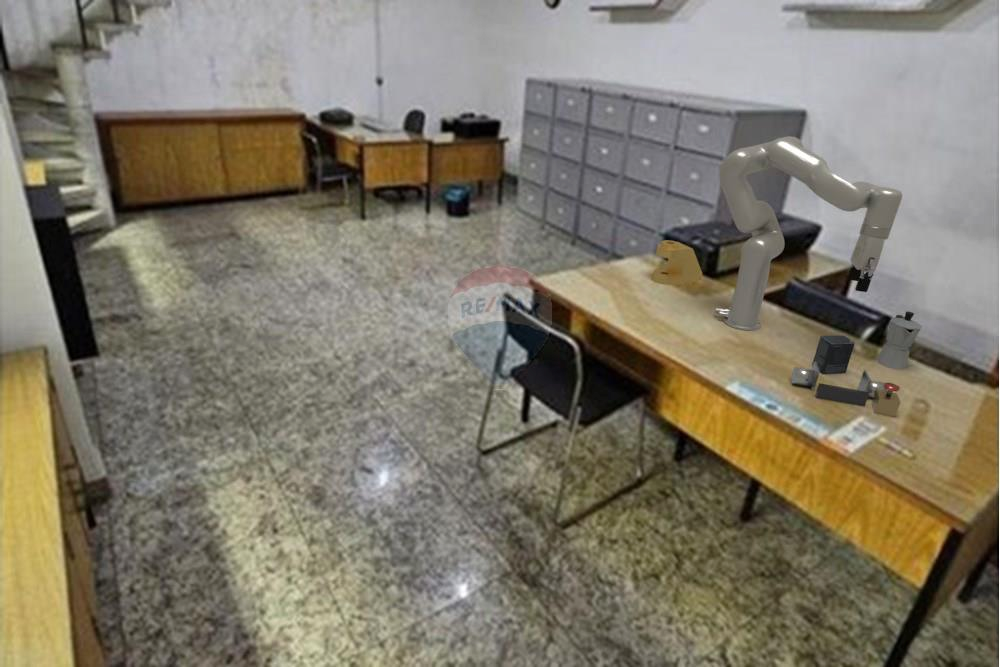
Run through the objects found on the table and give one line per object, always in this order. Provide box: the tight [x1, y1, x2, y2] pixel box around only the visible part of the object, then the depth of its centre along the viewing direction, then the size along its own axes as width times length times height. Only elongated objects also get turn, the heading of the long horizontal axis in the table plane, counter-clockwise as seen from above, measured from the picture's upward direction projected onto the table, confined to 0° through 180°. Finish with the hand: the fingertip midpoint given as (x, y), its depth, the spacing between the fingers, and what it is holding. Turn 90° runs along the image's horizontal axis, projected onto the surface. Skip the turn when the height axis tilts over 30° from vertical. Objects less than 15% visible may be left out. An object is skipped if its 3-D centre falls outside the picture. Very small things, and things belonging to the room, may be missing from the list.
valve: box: [870, 382, 902, 418], centre depth 171 cm, size 5×5×8 cm
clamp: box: [651, 239, 703, 286], centre depth 254 cm, size 20×9×16 cm, turn 115°
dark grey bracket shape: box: [790, 361, 888, 407], centre depth 178 cm, size 24×10×6 cm, turn 73°
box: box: [811, 334, 856, 375], centre depth 190 cm, size 8×6×11 cm
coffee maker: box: [875, 311, 923, 371], centre depth 195 cm, size 15×9×18 cm, turn 163°
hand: (856, 285), depth 193 cm, fingers open, 9 cm apart
